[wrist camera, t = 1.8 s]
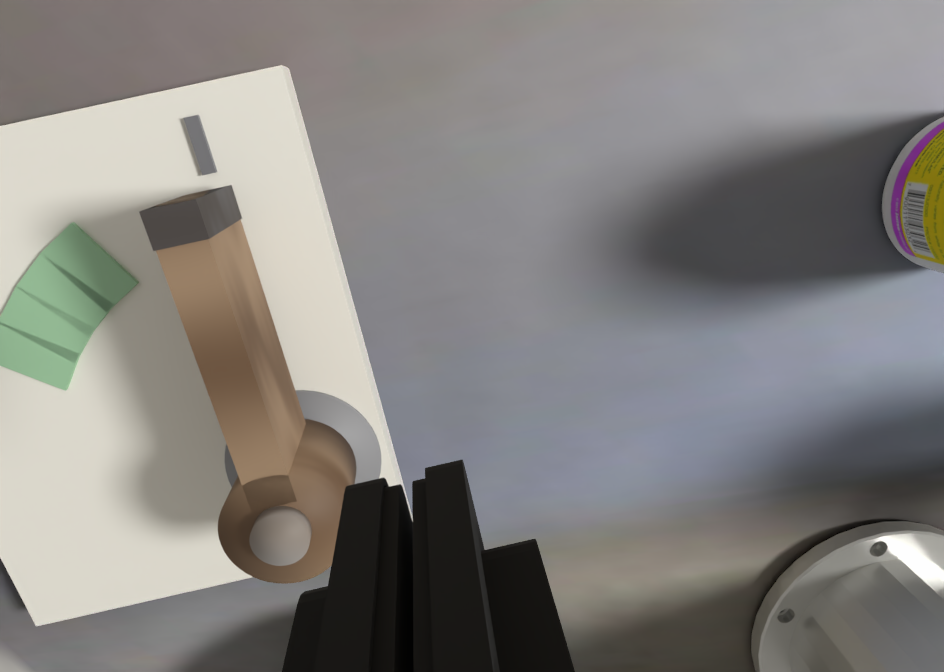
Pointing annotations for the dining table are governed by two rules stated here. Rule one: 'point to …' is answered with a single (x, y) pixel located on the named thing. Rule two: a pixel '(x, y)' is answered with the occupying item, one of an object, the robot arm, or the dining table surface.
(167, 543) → the dial plate
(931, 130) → the supplement bottle
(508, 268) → the dining table surface
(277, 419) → the walnut dial lever
